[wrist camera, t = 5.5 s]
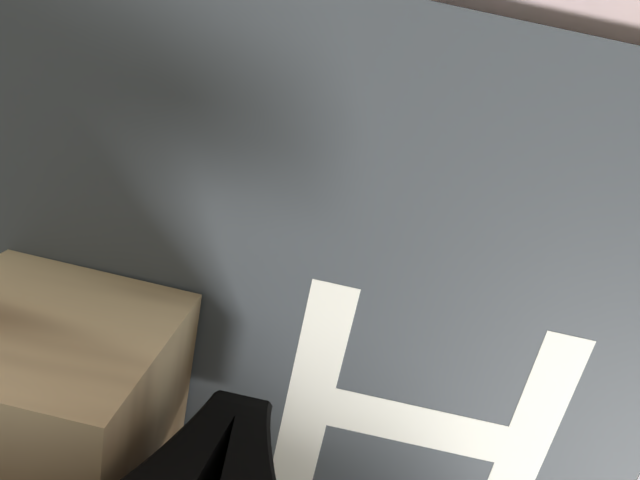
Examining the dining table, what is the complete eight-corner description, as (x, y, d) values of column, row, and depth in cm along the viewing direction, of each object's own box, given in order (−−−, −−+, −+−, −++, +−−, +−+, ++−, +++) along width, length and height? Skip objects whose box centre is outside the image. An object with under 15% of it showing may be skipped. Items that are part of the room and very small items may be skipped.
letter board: (531, 653, 17) (536, 670, 17) (-10, 531, 17) (-20, 545, 17) (822, 87, 11) (842, 89, 11) (-21, -95, 11) (-38, -101, 11)
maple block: (179, 453, 15) (88, 637, 10) (8, 411, 15) (-160, 573, 10) (202, 294, 13) (103, 428, 8) (8, 249, 13) (-194, 356, 9)
